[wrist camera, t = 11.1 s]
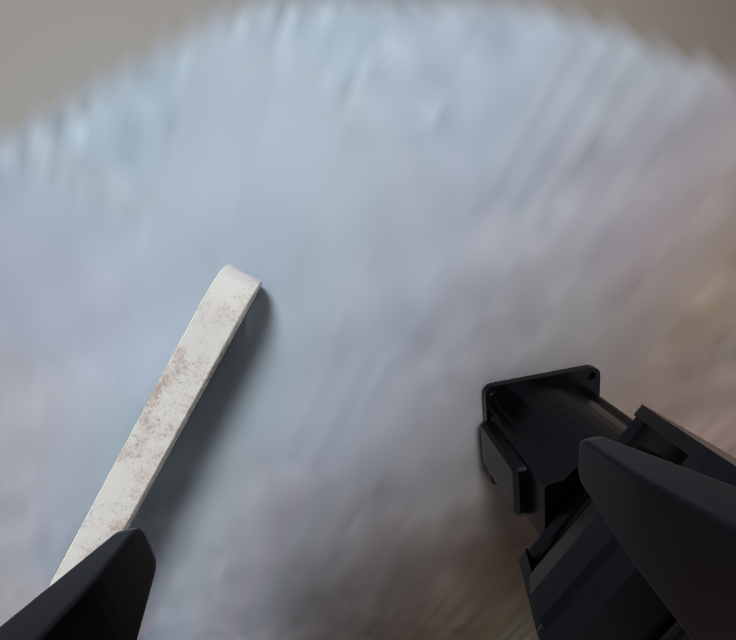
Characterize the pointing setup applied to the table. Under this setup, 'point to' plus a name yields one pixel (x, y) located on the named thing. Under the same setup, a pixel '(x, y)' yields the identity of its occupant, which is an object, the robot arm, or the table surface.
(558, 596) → the robot arm
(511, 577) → the table surface
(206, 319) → the wrench
